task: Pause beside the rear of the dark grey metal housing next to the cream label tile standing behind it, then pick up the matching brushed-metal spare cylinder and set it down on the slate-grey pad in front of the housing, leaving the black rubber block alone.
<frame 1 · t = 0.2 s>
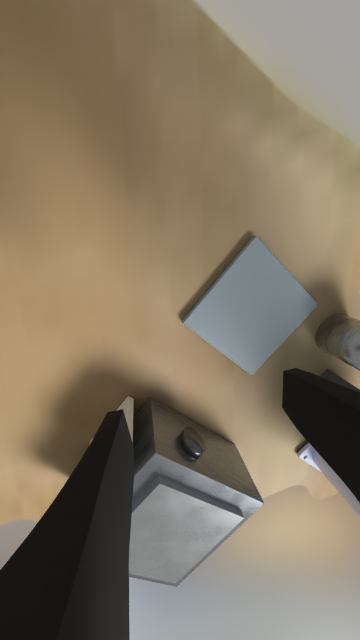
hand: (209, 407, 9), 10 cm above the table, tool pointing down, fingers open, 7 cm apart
pad: (250, 311, 20), on the table
housing: (160, 462, 23), on the table
label tile: (111, 420, 20), on the table
rubber block: (323, 390, 25), on the table
spare cylinder: (333, 333, 22), on the table
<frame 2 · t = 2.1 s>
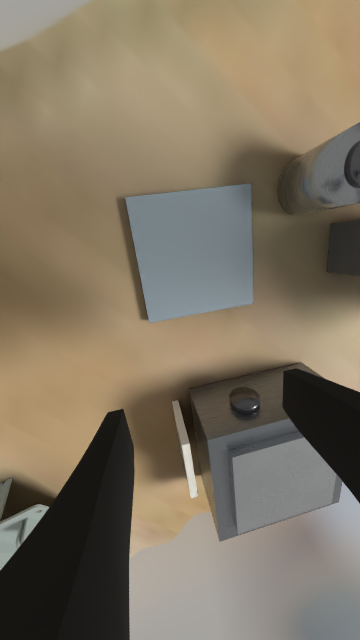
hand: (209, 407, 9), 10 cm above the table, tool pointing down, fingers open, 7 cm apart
pad: (195, 256, 17), on the table
metal bracket: (38, 514, 23), on the table
housing: (248, 421, 24), on the table
label tile: (179, 424, 22), on the table
rubber block: (347, 245, 19), on the table
spare cylinder: (300, 187, 17), on the table
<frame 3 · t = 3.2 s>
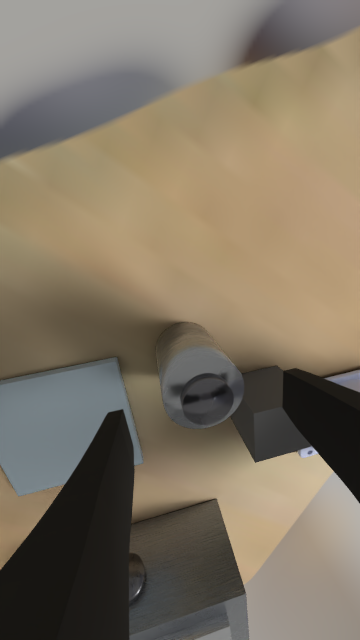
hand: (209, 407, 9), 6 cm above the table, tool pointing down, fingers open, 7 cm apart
pad: (66, 426, 15), on the table
housing: (164, 555, 22), on the table
rubber block: (253, 392, 17), on the table
spare cylinder: (184, 349, 15), on the table
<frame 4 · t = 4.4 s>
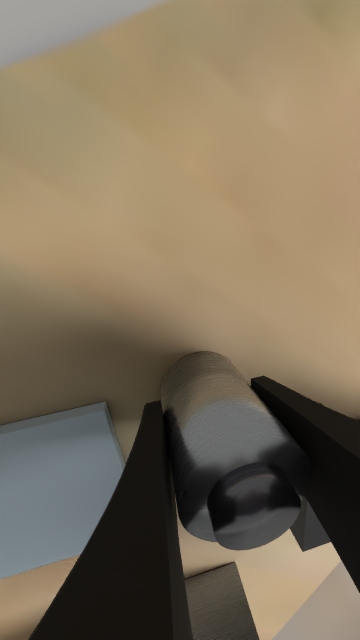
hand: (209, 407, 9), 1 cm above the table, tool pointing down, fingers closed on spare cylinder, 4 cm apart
pad: (37, 494, 11), on the table
housing: (168, 628, 18), on the table
rubber block: (287, 436, 13), on the table
spare cylinder: (200, 388, 11), on the table, touching gripper
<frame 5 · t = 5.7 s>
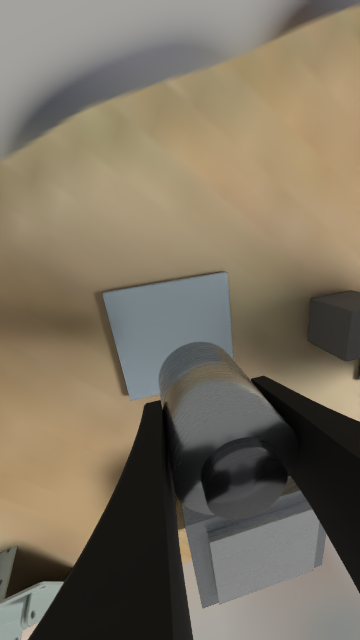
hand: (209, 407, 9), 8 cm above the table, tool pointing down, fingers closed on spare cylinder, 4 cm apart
pad: (175, 337, 17), on the table
metal bracket: (40, 573, 24), on the table
housing: (234, 478, 24), on the table
rubber block: (328, 315, 20), on the table
spare cylinder: (197, 377, 11), point 6 cm above the table, touching gripper
when the fingers open (4 cm above the table, at t = 7.0 s): spare cylinder drops 1 cm, resting on pad.
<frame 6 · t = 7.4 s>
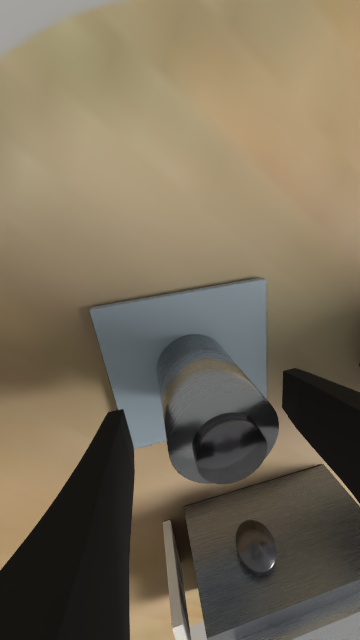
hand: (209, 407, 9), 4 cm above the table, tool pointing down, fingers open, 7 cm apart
pad: (190, 365, 13), on the table
housing: (257, 530, 19), on the table
label tile: (172, 543, 18), on the table
spare cylinder: (192, 367, 12), point 1 cm above the table, touching pad
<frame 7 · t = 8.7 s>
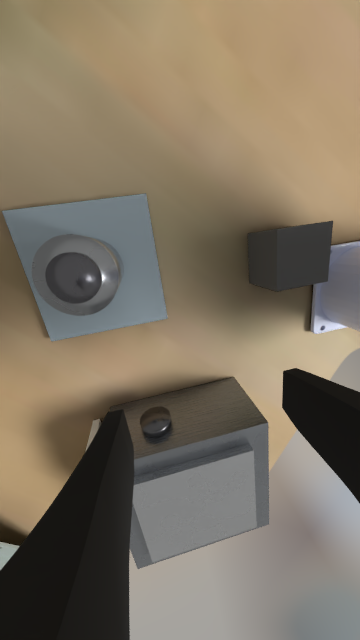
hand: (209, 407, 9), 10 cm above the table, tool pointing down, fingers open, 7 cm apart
pad: (97, 271, 16), on the table
housing: (183, 438, 23), on the table
rubber block: (270, 255, 18), on the table
spare cylinder: (94, 268, 15), point 1 cm above the table, touching pad
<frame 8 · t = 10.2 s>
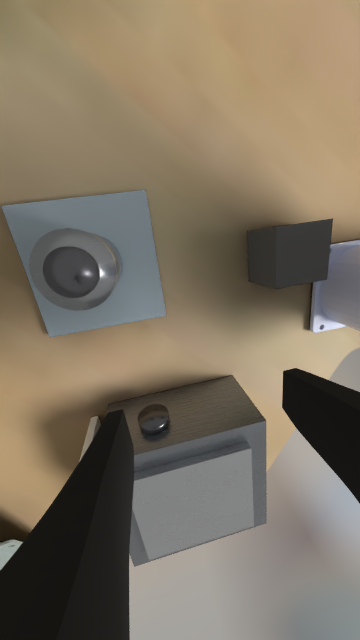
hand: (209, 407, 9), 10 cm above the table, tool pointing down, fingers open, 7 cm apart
pad: (96, 267, 16), on the table
metal bracket: (5, 540, 24), on the table
housing: (181, 436, 23), on the table
label tile: (102, 440, 21), on the table
rubber block: (269, 253, 18), on the table
spare cylinder: (93, 264, 15), point 1 cm above the table, touching pad
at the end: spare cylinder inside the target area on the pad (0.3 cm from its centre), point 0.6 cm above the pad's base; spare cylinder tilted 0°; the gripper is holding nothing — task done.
